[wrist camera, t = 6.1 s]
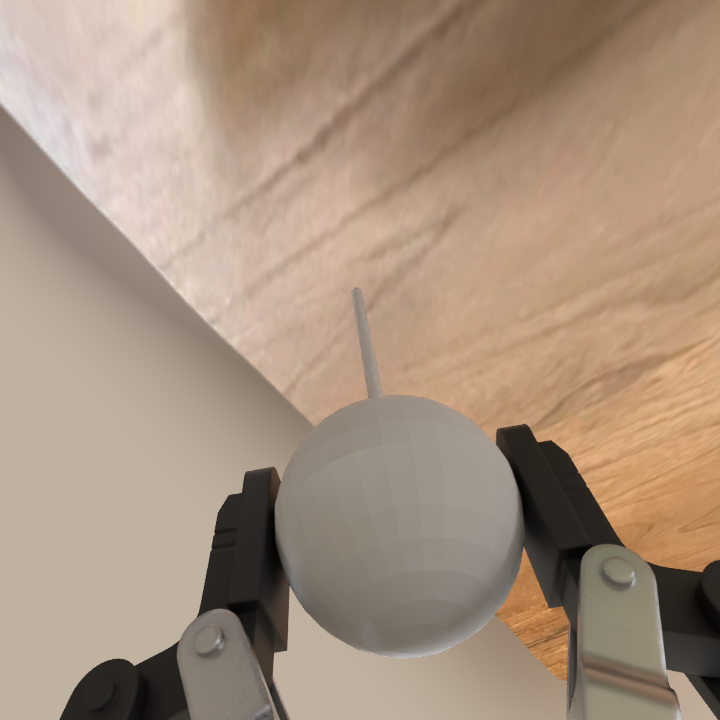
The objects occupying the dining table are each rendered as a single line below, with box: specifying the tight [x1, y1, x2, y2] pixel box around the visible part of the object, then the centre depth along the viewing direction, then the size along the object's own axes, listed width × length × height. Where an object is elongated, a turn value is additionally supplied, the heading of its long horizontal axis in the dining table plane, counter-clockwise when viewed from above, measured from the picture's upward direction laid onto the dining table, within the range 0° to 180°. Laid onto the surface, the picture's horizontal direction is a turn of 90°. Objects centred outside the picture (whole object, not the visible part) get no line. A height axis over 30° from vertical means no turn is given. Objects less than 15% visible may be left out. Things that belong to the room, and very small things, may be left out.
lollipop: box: [274, 288, 525, 658], centre depth 15 cm, size 6×6×15 cm
